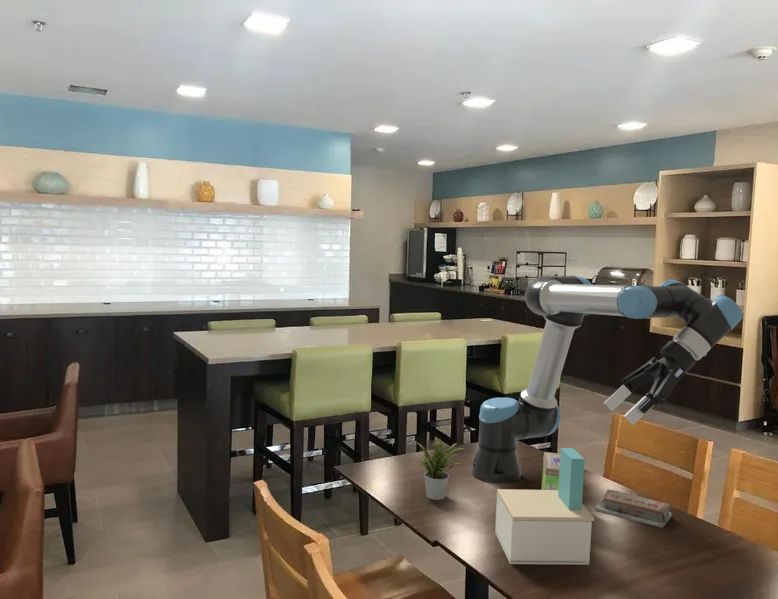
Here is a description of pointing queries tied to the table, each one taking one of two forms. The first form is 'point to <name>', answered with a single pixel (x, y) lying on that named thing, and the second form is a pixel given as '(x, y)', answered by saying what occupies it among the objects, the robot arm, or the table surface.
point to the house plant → (437, 471)
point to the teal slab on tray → (552, 495)
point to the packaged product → (635, 508)
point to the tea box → (551, 471)
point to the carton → (542, 539)
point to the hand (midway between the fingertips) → (617, 413)
